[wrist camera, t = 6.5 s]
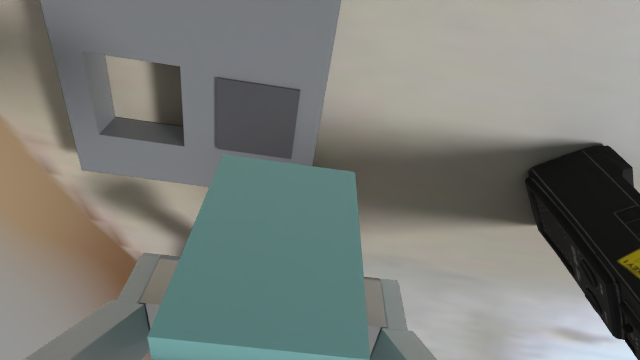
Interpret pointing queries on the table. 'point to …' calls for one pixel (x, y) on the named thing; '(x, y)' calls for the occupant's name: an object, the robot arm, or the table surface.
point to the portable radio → (594, 231)
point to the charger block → (268, 269)
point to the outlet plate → (196, 80)
